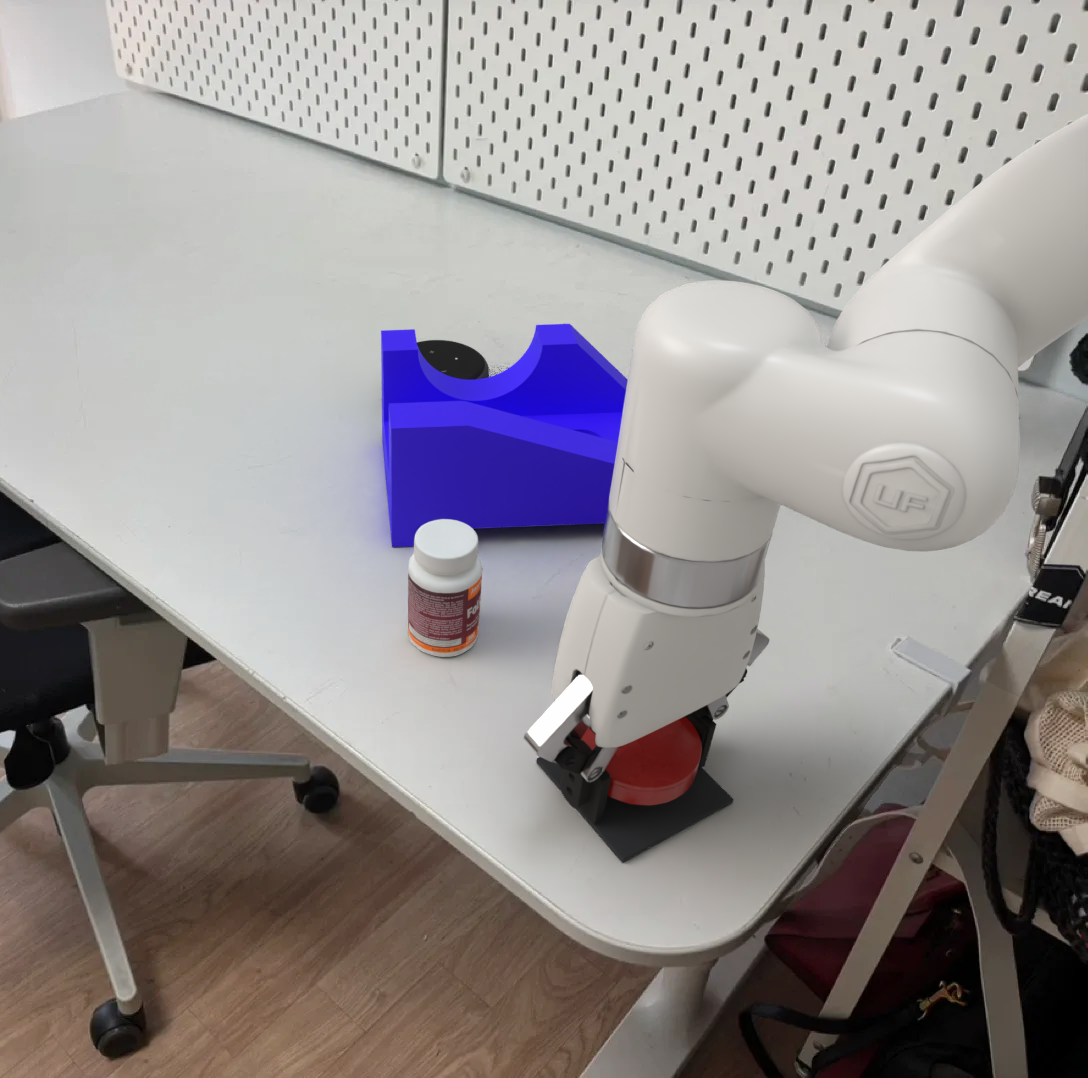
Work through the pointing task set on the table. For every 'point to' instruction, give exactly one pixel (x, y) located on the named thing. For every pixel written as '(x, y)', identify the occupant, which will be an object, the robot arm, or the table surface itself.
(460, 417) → the bracket
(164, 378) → the table surface
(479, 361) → the smart speaker
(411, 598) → the pill bottle
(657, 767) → the jar lid
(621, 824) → the mat
